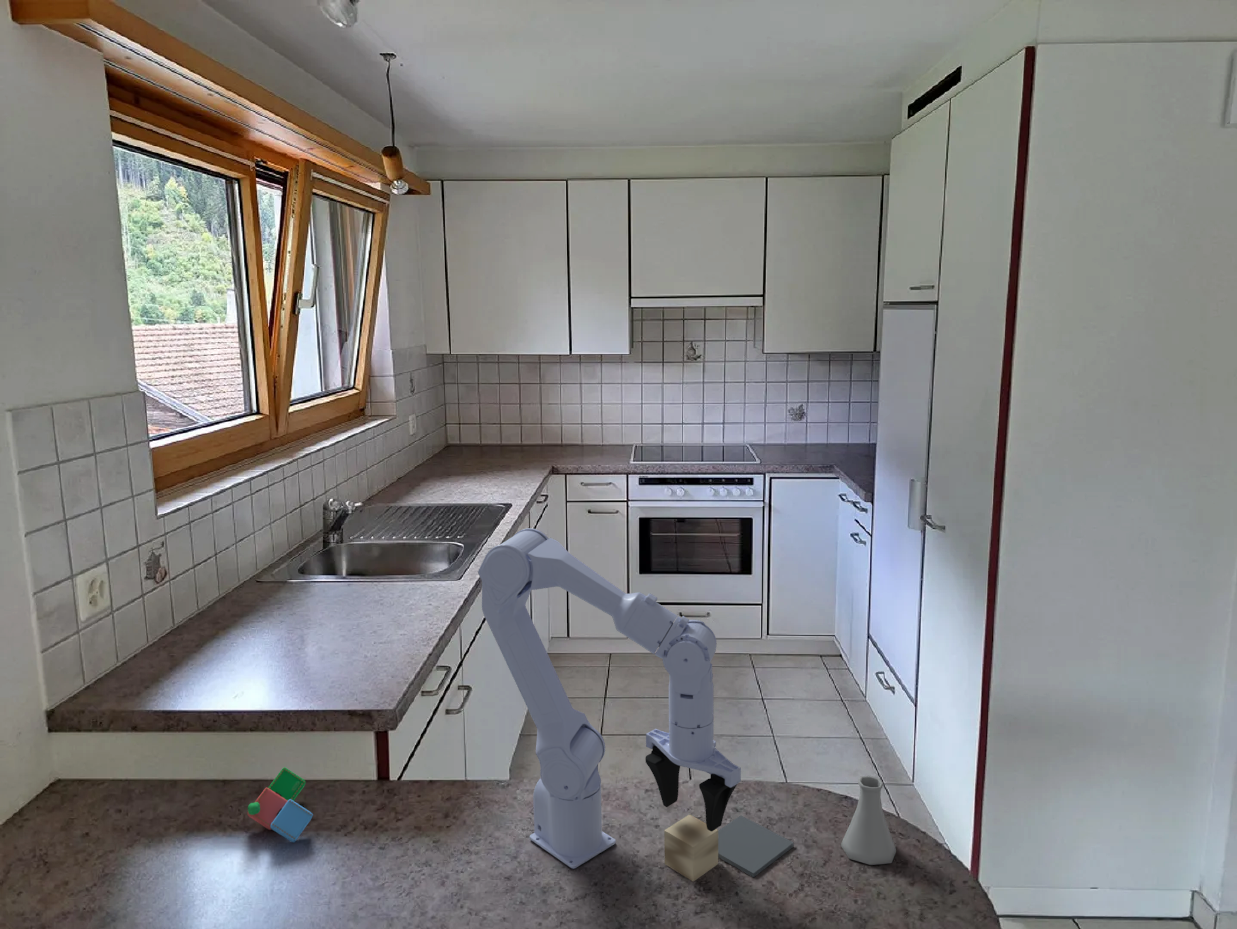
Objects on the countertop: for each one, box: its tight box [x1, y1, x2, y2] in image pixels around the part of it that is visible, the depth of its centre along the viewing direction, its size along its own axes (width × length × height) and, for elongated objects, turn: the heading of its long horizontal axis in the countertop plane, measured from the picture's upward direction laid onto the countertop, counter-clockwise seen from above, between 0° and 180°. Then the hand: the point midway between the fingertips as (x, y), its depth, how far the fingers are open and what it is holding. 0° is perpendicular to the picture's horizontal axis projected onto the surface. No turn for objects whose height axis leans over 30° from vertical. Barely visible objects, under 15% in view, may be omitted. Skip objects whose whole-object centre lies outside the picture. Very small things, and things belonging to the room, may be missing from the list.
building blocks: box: [246, 766, 314, 844], centre depth 120 cm, size 8×8×12 cm
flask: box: [840, 775, 897, 866], centre depth 112 cm, size 7×7×10 cm
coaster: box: [717, 815, 795, 878], centre depth 114 cm, size 9×9×1 cm
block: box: [663, 814, 719, 882], centre depth 110 cm, size 5×5×5 cm
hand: (691, 815), depth 109 cm, fingers open, 7 cm apart
